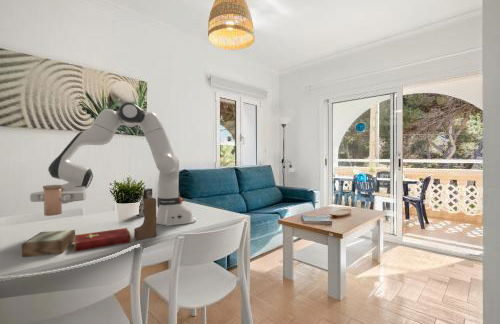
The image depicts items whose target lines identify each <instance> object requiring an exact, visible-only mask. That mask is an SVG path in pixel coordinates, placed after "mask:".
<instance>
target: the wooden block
mask: <svg viewBox="0 0 500 324" xmlns="http://www.w3.org/2000/svg"><path fill="white" fill-rule="evenodd" d="M143 217H144V218H143V222H142V224H141V225H140V226H137V227H134V229H133V232H134V233H133V235H134V236H133V238H134V239H135V240H136V241H139V240H145V239H149V238H150V239H151V238H155V237H157V223H156V218H157V199H156V198H155V197H152V198H145V199H144V216H143Z"/></svg>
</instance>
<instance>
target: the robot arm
mask: <svg viewBox="0 0 500 324" xmlns="http://www.w3.org/2000/svg"><path fill="white" fill-rule="evenodd" d="M118 108H119V109H118V110H117V111H116V110H113V109H109V108H106V109H105V108H104V109H103V110H101V111H100V112H99V114H98V115H97V117H95V119H94V121H93V122H92V124H91V126H90V127H89V128H88V129H86V130H83V131H80V132H78V133H77V134H76V135H75V136H74V137H73V138H72V140H71V141H70V142H69V143H68V144H67V146H66V147H65V148H64V149H63V150H62V152H60V153H59V155H58V156H57V157H55V159H53V160H52V162H51V163H50V164H49V166H48V170H47V171H48V173H49V175H50V176H51V177H52V178H54V179H57V180H62V181H64V182H66V183H64V184H61V185H62V188H61V193H62V196H61V197H60V201H62V205H64V204H69V203H74V202H82V201H86V200H87V199H86V198H87V190H86V189H88V188H89V186H90V185H91V183H92V181H93V177H94V174H93V171H92V169H91V168H89V167H87V166H84V165H81V164H79V163H76V162H73V161H70V160H71V158H72V157H73V155H75V153H76V152H77V151H78V150H79V148H80V147H83V146H104V145H107V144H108V143H110V142H111V141H112V139H113V137H114V136H115V134H116V132H117V130H118V128H119V127H122V128H129V129H132V128H135V127H137V126H138V127H140V129H141V130H142V133H143V136H144V137H145V140H146V142H147V143H148V146H149V148H150V151H151V155H152V158H153V161H154V163H155V165H156V169H157V170H158V172H159V173H158V174H159V175H158V183H157V191H158V192H157V199H156V207H157V211H156V225H157V224H158V225H163V226H167V227H169V226H178V225H184V224H185V225H186V224H194V223H195V222H196V221H197V219H196V217H195V216H193V212H192V210H191V208H190V207H188V206H187V205H185V204H184V203H183V202H184V199H183V198H182V197H181V196H179V177H180V160H179V157H178V156H176V155H175V153H174V151H173V148H172V145H171V141H170V139H169V137H168V135H167V133H166V130H165V128H164V126H163V123H162V122H161V121H160V119H159V117H158V116H157V114H156V113H154V112H152V111H149V112H145V111H144V109H142V108H141V107H139V106H138V105H137V104H136V103H134V102H124V103H123V104H121V105H120V107H118ZM29 201H30V202H31V203H38V202H40V203H42V202H43V203H44V190H42V191H35V192H31V193H30V194H29Z"/></svg>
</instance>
